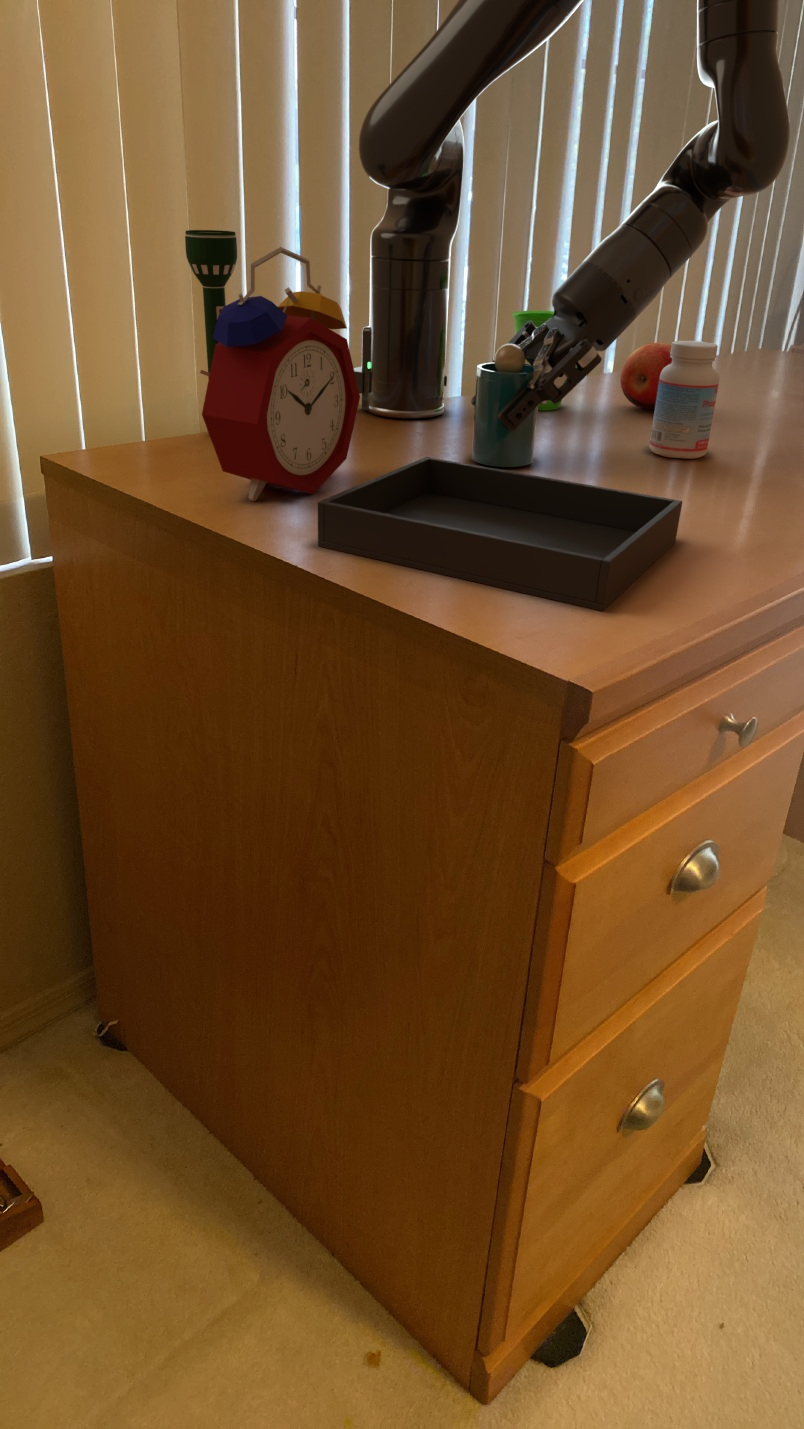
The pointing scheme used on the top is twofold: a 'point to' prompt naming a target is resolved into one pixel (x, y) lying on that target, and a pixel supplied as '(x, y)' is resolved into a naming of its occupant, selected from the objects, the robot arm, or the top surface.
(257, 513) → the top surface
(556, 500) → the tray
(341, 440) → the alarm clock
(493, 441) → the pour cup
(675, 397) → the pill bottle
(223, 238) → the flashlight
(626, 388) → the apple
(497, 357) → the ball
